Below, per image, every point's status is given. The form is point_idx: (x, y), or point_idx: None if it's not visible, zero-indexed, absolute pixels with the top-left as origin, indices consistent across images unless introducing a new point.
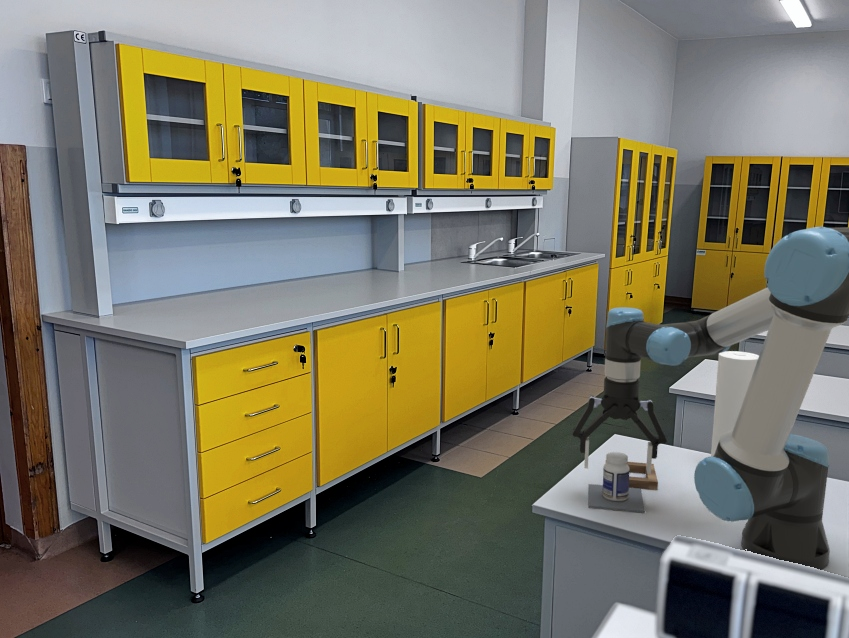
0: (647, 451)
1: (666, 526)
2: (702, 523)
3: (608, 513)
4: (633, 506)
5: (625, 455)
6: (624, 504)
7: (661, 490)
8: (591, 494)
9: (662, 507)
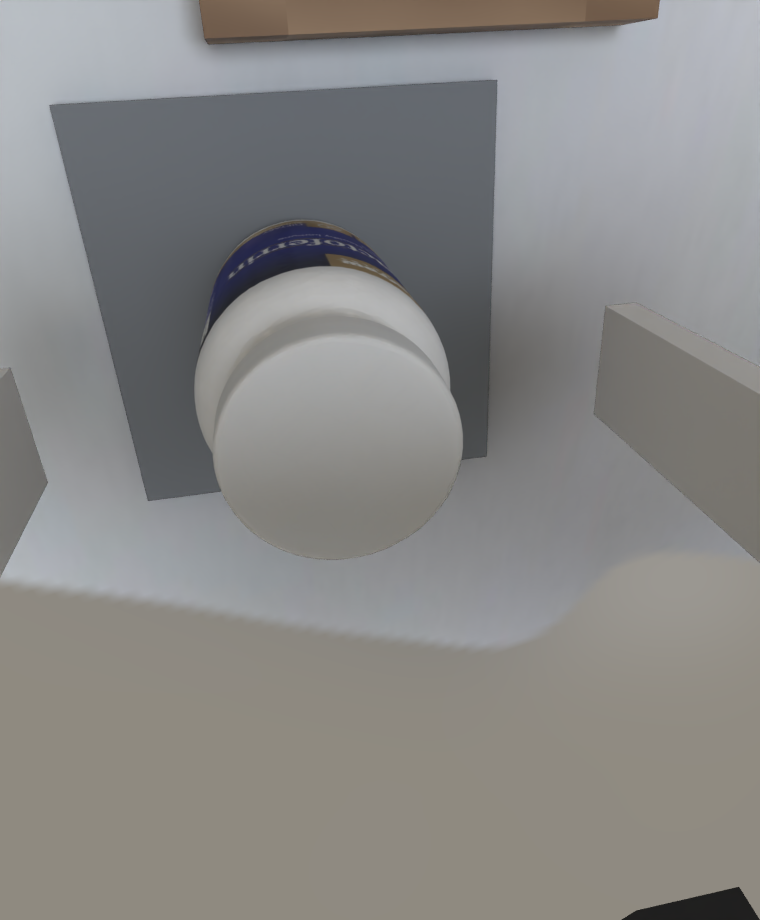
0: (717, 395)
1: (569, 550)
2: None
3: None
4: None
5: (439, 430)
6: None
7: None
8: (128, 327)
9: (594, 335)
